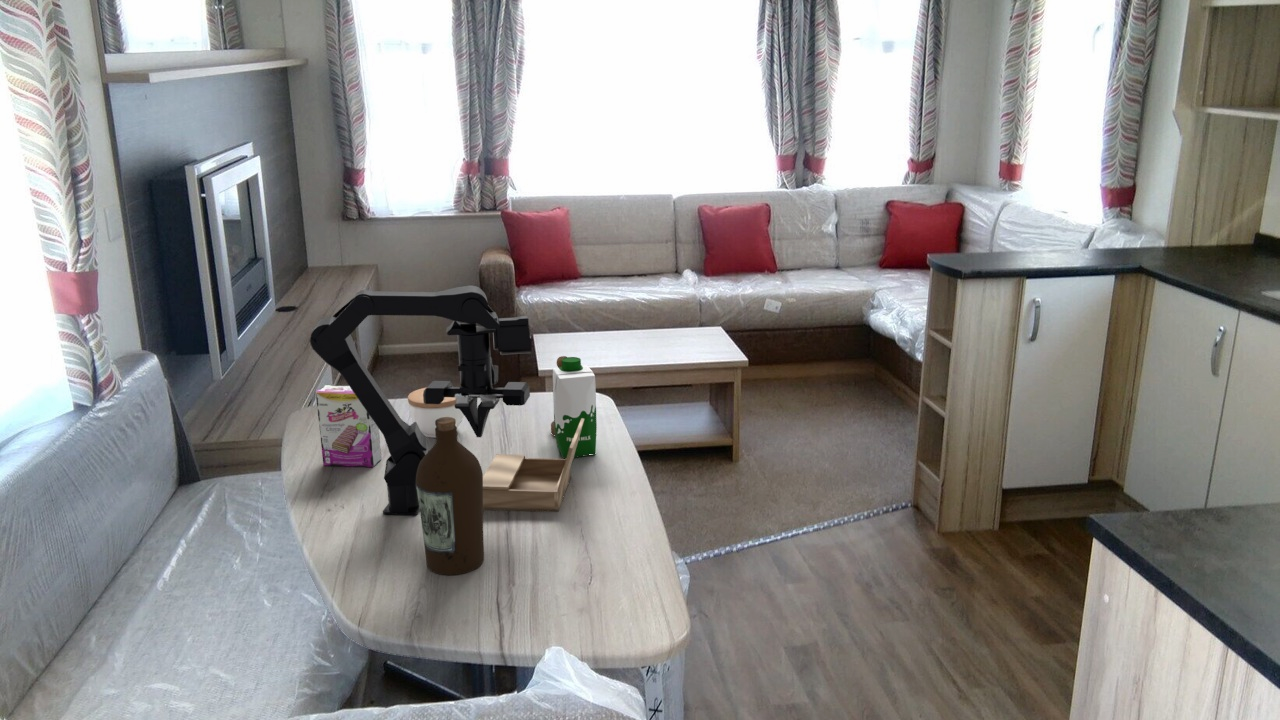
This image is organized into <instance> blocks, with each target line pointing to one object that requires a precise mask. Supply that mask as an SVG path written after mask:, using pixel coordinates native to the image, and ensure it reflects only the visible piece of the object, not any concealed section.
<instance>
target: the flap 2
mask: <svg viewBox="0 0 1280 720" xmlns="http://www.w3.org/2000/svg"><path fill="white" fill-rule="evenodd" d="M583 423H584V419H583V418H581V421H580V423H579V426H578V428H577V430H576V433H575V435H574V438H573V440H572V443H571V445H570V447H569V451H568V455H567V458H565V459H566V462H565V465H564V469H563V473H562V476H561V480H560V483H559V487H558V491H559V492H561V489H562V487H563V484H564V482H565V479H566V477H567V474H568V471H569V469H570V466H571V467H572V463H573V460H574V458H575V457H574V455H575V451H576V448H577V444H578V440H579V437H580V433H581V430H582V426H583Z"/></svg>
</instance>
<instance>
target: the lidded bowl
mask: <svg viewBox="0 0 1280 720" xmlns="http://www.w3.org/2000/svg"><path fill="white" fill-rule="evenodd" d="M427 387H428V386H427ZM427 387H422V388H418V389H416V390H413V391H412V392H410V393H409V394H408V395H407V402H408V410H409V414H410V418H411V421H412V424H413V423H414V422H416V423H417V424H418V427H419V429H420V431H421V432H422V433H423V434H424V435H425V436H427V438H433V439H434V438H435V439H436V434H435V428H436V425H435V421H436V420H437V419H439V418H442V417H452V418H454V419H455V420H456V424H455V426H456V427H457V429H458V428H459V426H461V424H462V422H463V419H464V417H465V416H464V414H463V413H462V412H461V410H460V409H456V408H455V404H456V397H444V400H443V401H442V402H441V403H440V404H425V403H424V400H423V392H424V390H425V389H426V388H427Z"/></svg>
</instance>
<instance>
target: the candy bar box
mask: <svg viewBox="0 0 1280 720" xmlns="http://www.w3.org/2000/svg"><path fill="white" fill-rule="evenodd" d="M315 398H316V407H317V409H316V410H317V418H318V425H319V427H318V428H319V436H320V445H321V447H320V448H321V453H322V455H321V456H322V465H323V466H329V467H330V466H334V467H335V466H336V467H358V468H359V467H360V468H361V467H364V468H375V466H377V464H378V463H379V462H380V461H381V460H382V459H383V457H382V448H381V436H380V429H379V428H378V427H377V425H376V424H375V422H374V421H373V419H372V418H371V417H370V415H369V414H368V412H367V411H366V409H365V408H364V407H363V405H362V404H361V402H360V401H359V399H358V398H357V396H356V395H355V394H354V392H353V391H352V389H351V388H350V386H349V385H334V384H333V385H332V384H331V385H327V384H326V385H323V386H322V387H321V388H319V389H317V390H316V391H315Z"/></svg>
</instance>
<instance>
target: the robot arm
mask: <svg viewBox="0 0 1280 720" xmlns="http://www.w3.org/2000/svg"><path fill="white" fill-rule="evenodd" d="M370 316H406V317H407V316H411V317H412V316H414V317H415V316H423V317H427V316H428V317H433V316H435V317H438V318H439V317H441V318H444V319H447V320H449V321H452V322H451V324H450V325H448V326H447V327H446V335H447V336H456V337H457V348H458V349H457V351H458V365H457V369H458V370H457V371H458V372H459V379H460V386H453V383H452V381H451V380H432V381H431V383H430V384H429V385H428V386H427V388H426V387H425V388H426V389H425V390H424V392H423V400H424V403H425V404H440V403H441V402H442V401H443V400H444V397H456V404H455V408H456V409H460V410H461V412H462V413H463V414H464V417H465V419H466V420H467V422H468V424H469V426H470V427H471V429H472V431H473V433H474V434H475V437H476V438H482V437H483V435H484V431H485V428H486V423H487V420H488V417H489V413H490V411H491V410H493V409H495V408H496V407H497V404H498V403H499V402H500V400H501V399H502V402H503V403H504V404H505V405H506V406H525V405H526V404H527V402H528V399H530V396H531V389H530V385H529V383H527V382H525V381H523V382H522V381H519V382H518V381H508V382H507V383H506V384H505V386H504V387H493V386H495V385H497V383H498V382H499V365H496V364H493V358H492V356H491V341H490V339H491V337H490V334H492V338H493V339H492V340H493V341H492V343H493V350H494V351H497V352H498V353H500V355H501V356H505V355H518V354H519V355H520V354H523V355H524V354H532V336H531V333H530V322H529V317H528V316H527V315H521V316H516V317H504V318H503V317H501V318H499V317H498V314H497V312H496V311H494V310H493V309H492V307H490V305H489V303H488V298H487V295H486V293H485V291H483V289H481V287H478V286H476V285H465V286H464V285H463V286H459V287H452V288H448V289H445V290H441V291H439V290H438V291H435V292H434V291H432V292H431V291H380V290H379V291H376V290H375V291H374V290H373V291H372V290H369V289H368V290H367V289H361V290H359V291H357V292H356V293H355V294H354V296H353V297H352V298H351V299H350V300H349V301H348V302H346V303H345V304H344V305H343V306H341V308H340V309H338V310H337V311H336V312H335V313H334V314H333V315H332V316H326V317H323V318H321V319H320V320H319V321H318V322H317V323H316V325H315V326H314V328H313V330H312V333H311V335H310V337H309V338H310V339H309V342H310V346H311V348H312V350H313V351H314V353H316V355H318V357H320V358H321V359H322V360H323V361H324V362H325V363H326V364H327V365H328V366H330V367H331V368H332V369H334V370H336V371H337V372H338V373H339V374H340V375H341V376H342V378H343V380H344V381H345V382H346V383H347V386H350V388H351V389H352V391H353V392H354V394H355V395H356V396H357V398H358V399H359V401H360V402H361V404H362V405H363V407H364V408H365V409H366V411H367V412H368V414H369V415H370V417H371V418H372V419H373V421H374V422H375V424H376V425H377V427H378V428H379V432H381V434H382V435H383V437H384V440H385V444H386V445H387V449H388V452H389V454H390V455H389V457H388V458H387V459H386V461H385V469H384V477H383V480H384V481H385V483H386V488H387V501H388V503H387V504H386V506H385V508H384V509H382V514H383V515H409V516H411V515H412V516H414V515H418V513H420V508H419V501H418V494H417V489H416V473H417V469H418V465H419V463H420V461H421V460H422V459H423V457H424V456H425V455H426V454H427V453H428V437H427V436H425V435H424V434H423V433H422V432H421V431H420V429H419V427H418V424H417V423H416V422H414V423H413V422H412V423H411V424H408V423H407V422H405V420H403V419H402V418H401V416H400V415H399V413H398V412H397V411H396V409H395V408H394V406H393V405H392V404H391V402H390V401H389V399H388V397H387V396H386V395H385V393H384V392H383V391H382V389H381V388H380V386H379V385H378V383H377V381H376V380H375V378H374V377H373V376H372V374H371V372H370V371H369V370H368V369H367V367H366V366H365V364H364V363H363V362H362V359H361V358H360V356H359V353H358V350H357V348H356V345H355V344H356V343H355V341H354V339H353V337H352V333H353V332H354V331H355V330H356V329H357V328H358V327H359V326H360V325H361V323H362V322H363V321H364V320H365V319H366V318H367V317H370ZM477 324H478V325H477ZM478 399H480V403H479V404H478Z"/></svg>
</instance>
